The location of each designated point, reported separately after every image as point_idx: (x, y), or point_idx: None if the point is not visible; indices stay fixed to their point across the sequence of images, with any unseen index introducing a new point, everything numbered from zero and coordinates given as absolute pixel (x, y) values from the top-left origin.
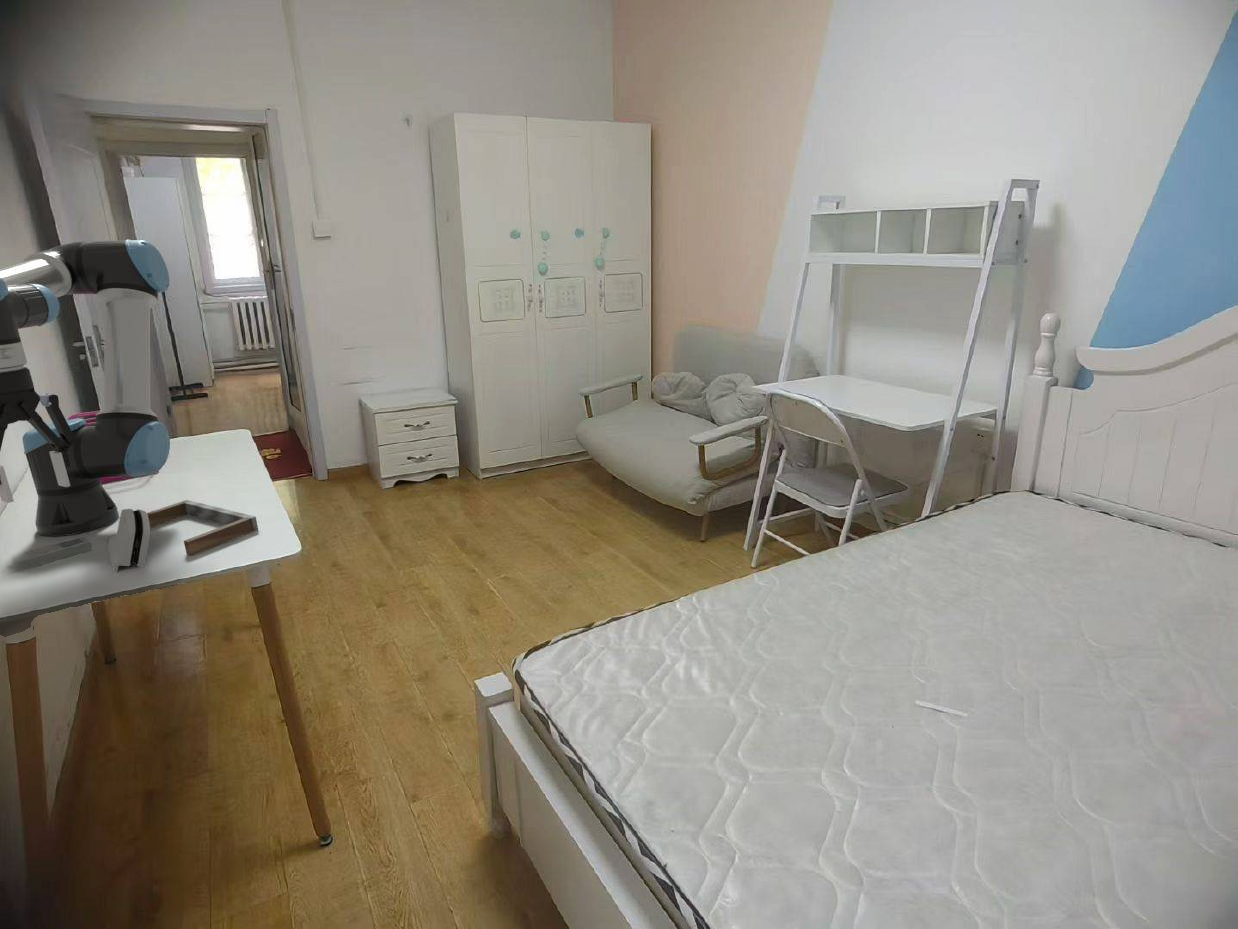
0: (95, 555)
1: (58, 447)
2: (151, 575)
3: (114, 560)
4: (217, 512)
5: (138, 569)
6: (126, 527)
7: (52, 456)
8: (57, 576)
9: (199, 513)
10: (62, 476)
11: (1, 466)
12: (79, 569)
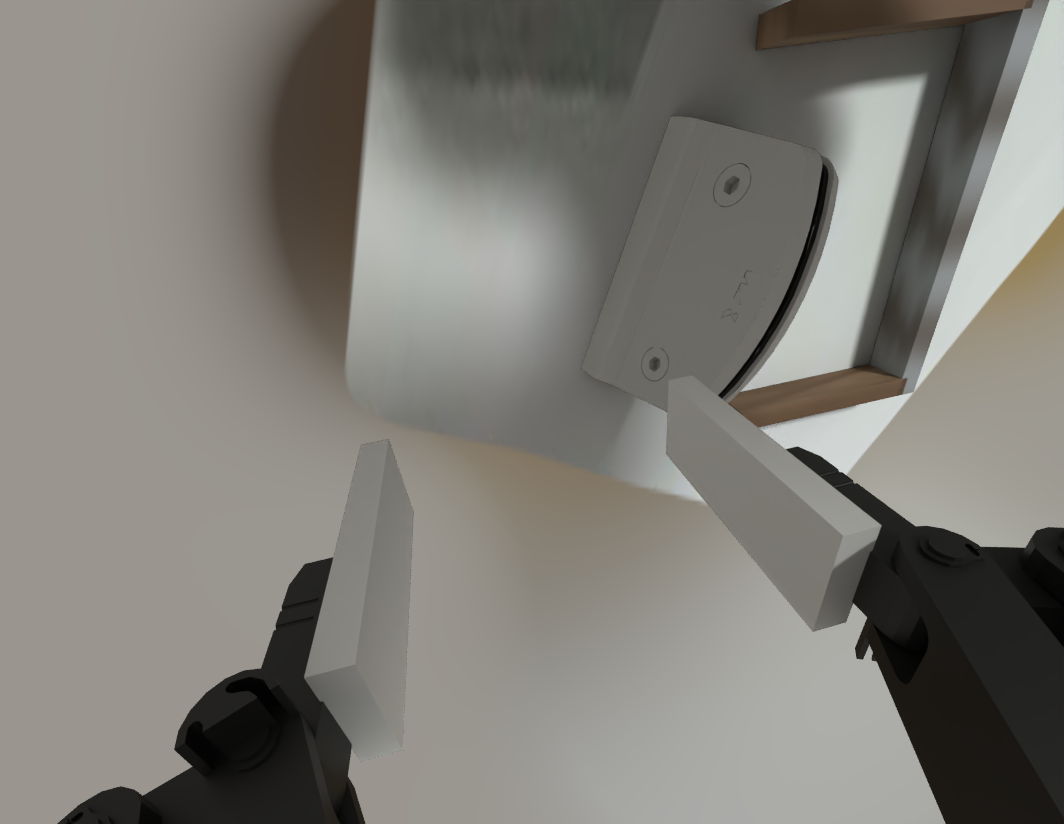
0: (612, 168)
1: (883, 665)
2: (617, 451)
3: (606, 345)
4: (940, 247)
5: (620, 395)
6: (696, 371)
7: (802, 533)
8: (479, 260)
9: (956, 125)
10: (699, 486)
11: (389, 749)
12: (537, 259)
